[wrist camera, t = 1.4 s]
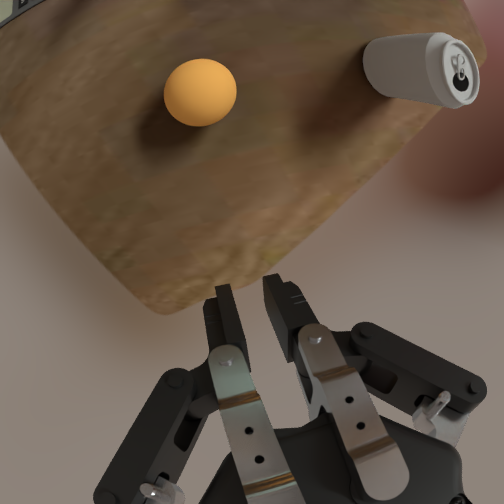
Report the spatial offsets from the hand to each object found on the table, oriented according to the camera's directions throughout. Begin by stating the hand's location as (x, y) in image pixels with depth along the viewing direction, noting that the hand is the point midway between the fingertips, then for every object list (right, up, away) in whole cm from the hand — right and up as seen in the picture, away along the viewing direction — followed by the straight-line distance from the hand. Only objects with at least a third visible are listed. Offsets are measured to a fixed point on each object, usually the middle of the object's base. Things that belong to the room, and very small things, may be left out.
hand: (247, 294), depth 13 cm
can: (+15, +23, +11) cm, 30 cm away
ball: (-4, +15, +7) cm, 17 cm away
